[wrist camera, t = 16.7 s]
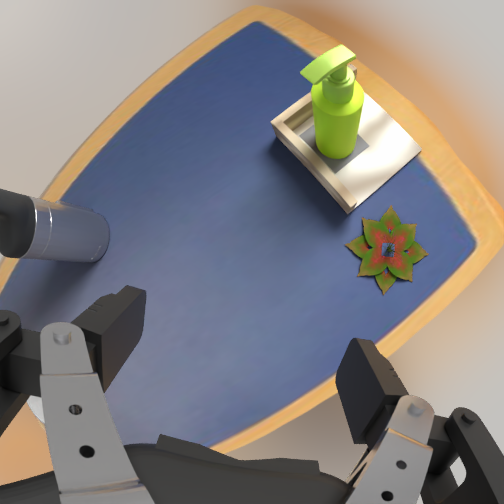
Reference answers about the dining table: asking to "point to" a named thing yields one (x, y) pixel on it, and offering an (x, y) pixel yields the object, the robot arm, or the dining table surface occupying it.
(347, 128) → the soap dispenser
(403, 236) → the lily flower
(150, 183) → the dining table surface
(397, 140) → the corner arena
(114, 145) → the dining table surface
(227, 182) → the dining table surface
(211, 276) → the dining table surface
